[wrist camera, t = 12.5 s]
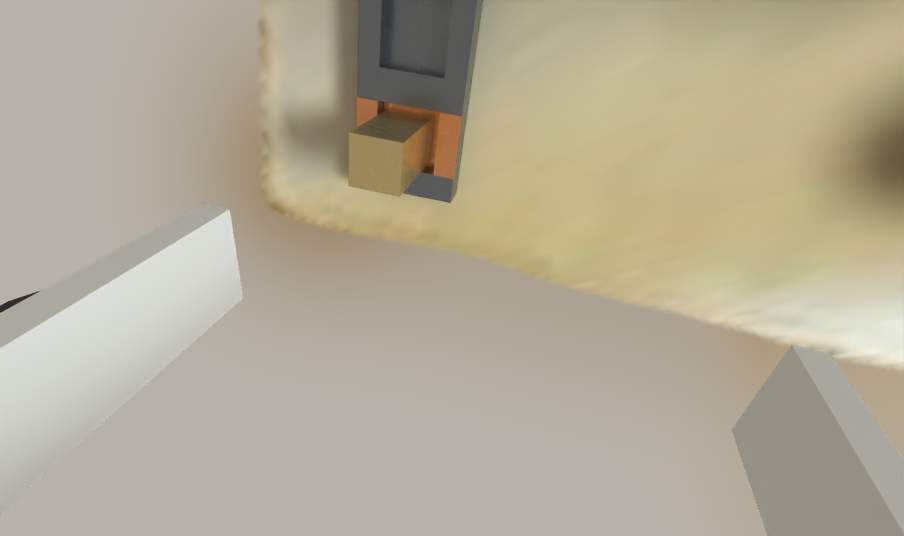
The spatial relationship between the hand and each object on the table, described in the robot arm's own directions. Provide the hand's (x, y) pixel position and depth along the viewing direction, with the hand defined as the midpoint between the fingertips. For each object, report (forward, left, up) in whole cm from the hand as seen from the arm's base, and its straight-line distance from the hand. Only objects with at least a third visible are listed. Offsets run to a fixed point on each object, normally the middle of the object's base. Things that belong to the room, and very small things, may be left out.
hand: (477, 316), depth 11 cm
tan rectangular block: (+5, -10, -30) cm, 32 cm away
